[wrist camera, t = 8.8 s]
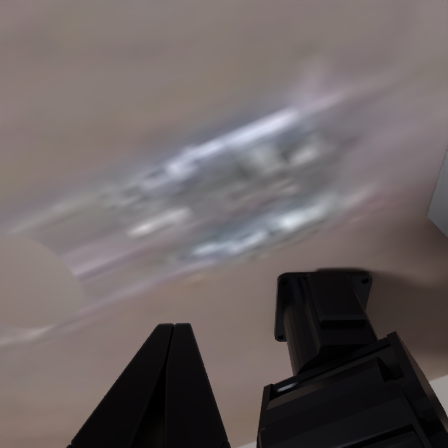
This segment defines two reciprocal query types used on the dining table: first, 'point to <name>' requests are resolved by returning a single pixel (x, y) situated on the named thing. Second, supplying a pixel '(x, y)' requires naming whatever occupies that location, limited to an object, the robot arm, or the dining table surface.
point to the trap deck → (440, 199)
